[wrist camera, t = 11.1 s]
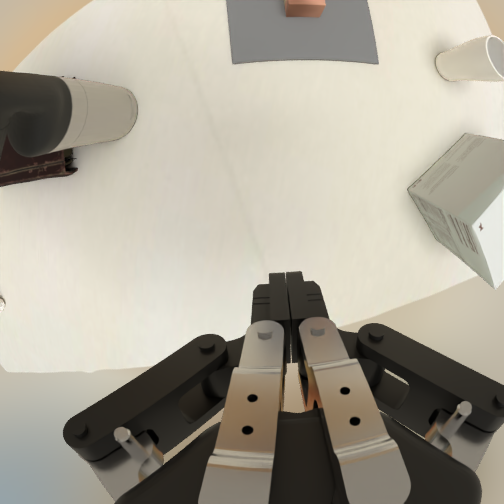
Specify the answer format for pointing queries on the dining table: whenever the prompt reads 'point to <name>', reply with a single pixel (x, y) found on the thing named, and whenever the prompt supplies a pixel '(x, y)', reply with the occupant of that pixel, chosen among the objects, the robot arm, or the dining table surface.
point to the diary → (32, 165)
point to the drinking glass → (473, 61)
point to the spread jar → (1, 305)
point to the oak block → (304, 8)
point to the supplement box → (468, 203)
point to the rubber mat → (301, 32)
